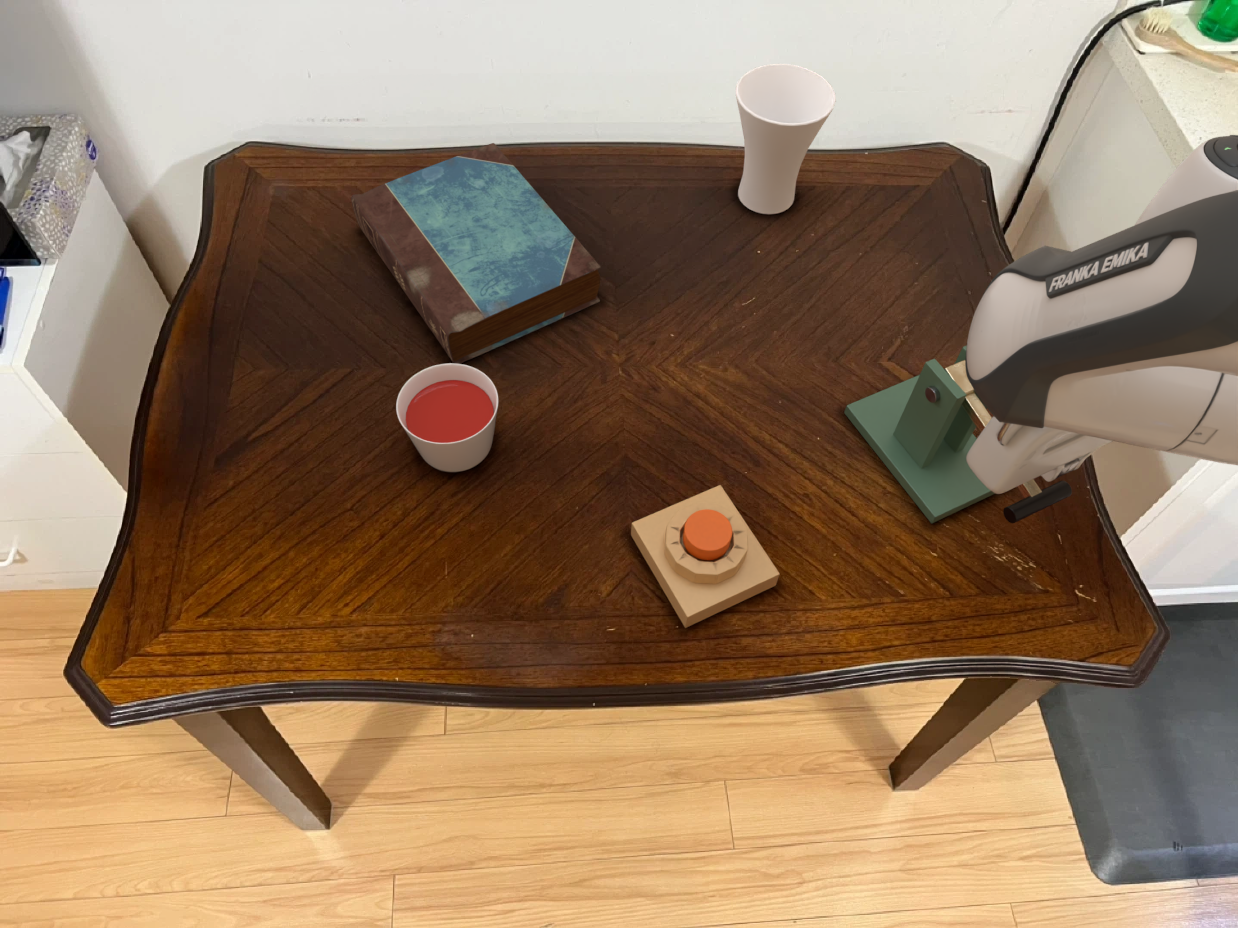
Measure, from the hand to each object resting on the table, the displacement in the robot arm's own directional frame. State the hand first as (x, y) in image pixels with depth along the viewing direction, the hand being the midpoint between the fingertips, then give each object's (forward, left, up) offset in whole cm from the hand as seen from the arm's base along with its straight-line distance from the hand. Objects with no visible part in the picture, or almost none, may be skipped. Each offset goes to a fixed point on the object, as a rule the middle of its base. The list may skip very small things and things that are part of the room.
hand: (1054, 469), depth 75 cm
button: (+10, +25, -8) cm, 28 cm away
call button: (+10, +25, -12) cm, 30 cm away
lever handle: (+6, 0, -4) cm, 7 cm away
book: (+52, +29, -12) cm, 61 cm away
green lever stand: (+11, 0, -12) cm, 16 cm away
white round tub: (+31, +40, -12) cm, 52 cm away
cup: (+48, -5, -12) cm, 50 cm away
